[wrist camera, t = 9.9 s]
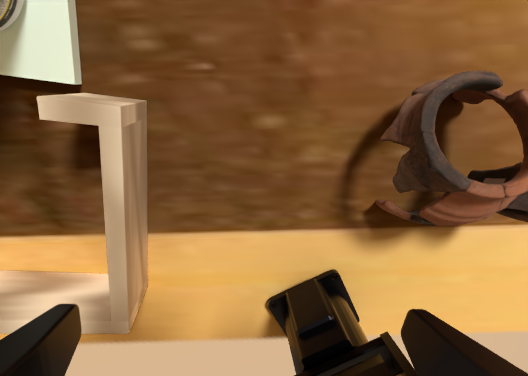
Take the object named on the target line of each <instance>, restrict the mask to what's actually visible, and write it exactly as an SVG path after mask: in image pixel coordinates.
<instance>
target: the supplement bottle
mask: <svg viewBox="0 0 528 376" xmlns="http://www.w3.org/2000/svg"><path fill="white" fill-rule="evenodd" d="M23 2H24V0H0V31H2V30H4V29H6V28H8V27H9V26H10V25H11V24H12V23H13V22H14V21H15V20H16V19H17V17H18V16H19V14H20V12H21V9H22V6H23Z"/></svg>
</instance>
